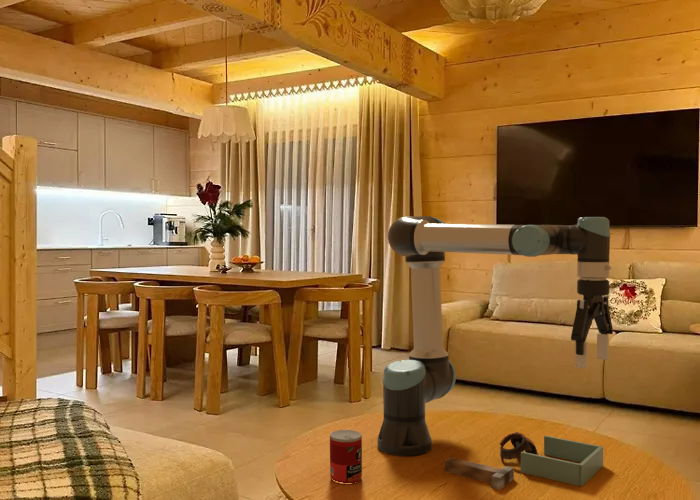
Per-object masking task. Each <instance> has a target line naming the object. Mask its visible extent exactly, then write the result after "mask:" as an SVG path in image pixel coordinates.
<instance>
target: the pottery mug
mask: <svg viewBox="0 0 700 500" xmlns="http://www.w3.org/2000/svg"><path fill="white" fill-rule="evenodd" d="M508 442H510V443H511V445H512V447H513V448H508V449H507V448H505V447H504V446H505V445H506V444H507V443H508ZM499 446H500V447H499V456H500V459H501V461H502V462H503V461H504V460H512V459H513V460H514V459H517V458H521V452H526V453H531V454H536V455H539V453H538V449H537V447H536V445H535V442H533V440H532V439H530V438H529V437H526V435H525V434H523V433H522V432H518V431H515V432H512V433H509V434H507V435H506V436H504V437H503V438H502V439H501V441H500V442H499Z"/></svg>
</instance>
